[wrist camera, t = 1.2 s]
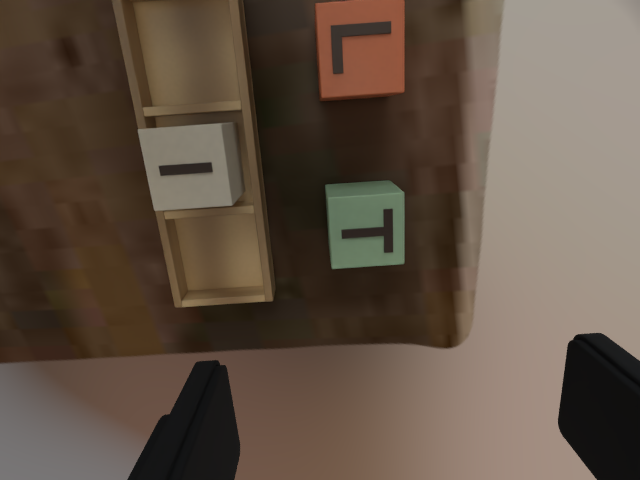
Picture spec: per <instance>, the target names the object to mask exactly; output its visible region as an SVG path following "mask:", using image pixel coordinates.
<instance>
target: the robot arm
mask: <svg viewBox="0 0 640 480" xmlns="http://www.w3.org/2000/svg"><path fill="white" fill-rule="evenodd" d="M558 425H559V429H560V432H561V434H562V435H563V437H564V438H565V439H566V440H567V442H568V443H569V444H570V446H571V447H572V448H573V450H574V451H575V452H576V453H577V454H578V456H579V457H580V458H581V460H582V461H583V462H584V464H585V465H586V466H587V467H588V469H589V470H590V471H591V473H592V474H593V475H594V476H595V478H596V479H597V480H640V361H639V360H637V359H636V358H635V357H633V356H632V355H631V354H630V353H628V352H627V351H625V350H624V349H623V348H621V347H620V346H619V345H617V344H616V343H615V342H613V341H612V340H610V339H609V338H608V337H607V336H605V335H604V334H601V333H590V334H578V335H576V336H575V337H574V339H573V340H572V341H570V342H569V343H568V348H567V355H566V363H565V371H564V379H563V387H562V394H561V402H560V409H559V417H558ZM239 456H240V441H239V435H238V430H237V424H236V419H235V412H234V407H233V401H232V395H231V389H230V384H229V379H228V372H227V368H226V366H225V365H220V363H219V361H217V360H214V361H200V362H196V363H195V365H194V367H193V369H192V371H191V373H190V375H189V377H188V379H187V381H186V383H185V385H184V387H183V389H182V391H181V393H180V395H179V397H178V399H177V401H176V403H175V405H174V407H173V409H172V411H171V413H170V414H168V415H164V416H162V417H161V418H160V420H159V421H158V423H157V425H156V427H155V429H154V430H153V432H152V434H151V436H150V438H149V440H148V442H147V444H146V445H145V447H144V450H143V451H142V453H141V455H140V457H139V459H138V461H137V462H136V465H135V466H134V468H133V470H132V472H131V474H130V476H129V478H128V480H234V478H235V474H236V469H237V465H238V461H239Z"/></svg>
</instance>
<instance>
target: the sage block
mask: <svg viewBox="0 0 640 480" xmlns="http://www.w3.org/2000/svg"><path fill="white" fill-rule="evenodd" d="M325 193H326V209H327V225H328V240H329V251H330V260H331V268H332V269H340V268H354V267H369V266H384V265H398V264H404V192H403V191H402V190H400V189H399V188H398V187H397V186H396V185H395V184H393V183H392V182H391V181H390V180H384V181H370V182H355V183H341V184H327V185H325Z"/></svg>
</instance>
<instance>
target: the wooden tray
mask: <svg viewBox="0 0 640 480" xmlns="http://www.w3.org/2000/svg"><path fill="white" fill-rule="evenodd" d="M112 5H113V10H114V14H115V19H116V24H117V29H118V34H119V39H120V43H121V48H122V53H123V58H124V63H125V68H126V72H127V77H128V82H129V87H130V92H131V97H132V101H133V106H134V111H135V116H136V121H137V126H138V129H147V128H160V127H173V126H187V125H201V124H216V123H230V122H237V127H238V135H239V143H240V150H241V158H242V166H243V174H244V182H245V189H246V191H245V192H244V193H243V194H242V195H241V196H240V198H239V199H238V200H237V201H236V202H235V203H234V204H233V205H232V206H220V207H206V208H192V209H177V210H163V211H155V213H156V218H157V223H158V227H159V232H160V237H161V242H162V247H163V252H164V256H165V261H166V266H167V271H168V276H169V281H170V285H171V290H172V295H173V300H174V305H175V307H191V306H206V305H220V304H235V303H250V302H264V301H273V298H274V294H275V289H276V286H275V278H274V269H273V260H272V251H271V242H270V233H269V225H268V216H267V207H266V198H265V189H264V181H263V172H262V163H261V154H260V145H259V136H258V128H257V119H256V110H255V101H254V92H253V83H252V75H251V66H250V57H249V48H248V39H247V31H246V22H245V13H244V4H243V0H112Z"/></svg>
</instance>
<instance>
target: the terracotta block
mask: <svg viewBox="0 0 640 480" xmlns="http://www.w3.org/2000/svg"><path fill="white" fill-rule="evenodd" d="M315 36H316V52H317V68H318V83H319V99H320V101H333V100H347V99H361V98H375V97H388V96H392V95H396V94H400V93H404V91H405V0H352V1H339V2H325V3H316V4H315Z"/></svg>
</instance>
